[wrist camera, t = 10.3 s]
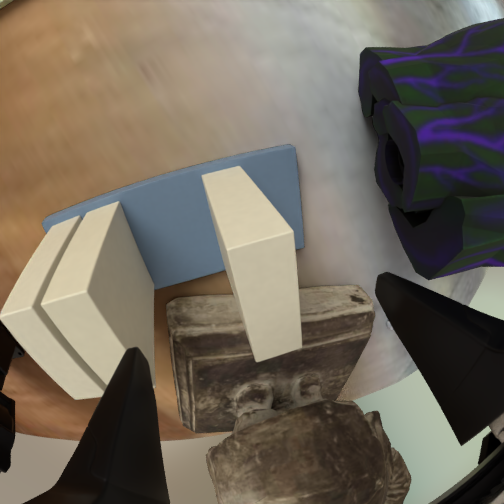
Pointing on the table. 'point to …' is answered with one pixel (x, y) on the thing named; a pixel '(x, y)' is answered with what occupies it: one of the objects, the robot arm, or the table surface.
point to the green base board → (4, 3)
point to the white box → (257, 261)
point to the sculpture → (284, 404)
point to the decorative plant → (441, 146)
